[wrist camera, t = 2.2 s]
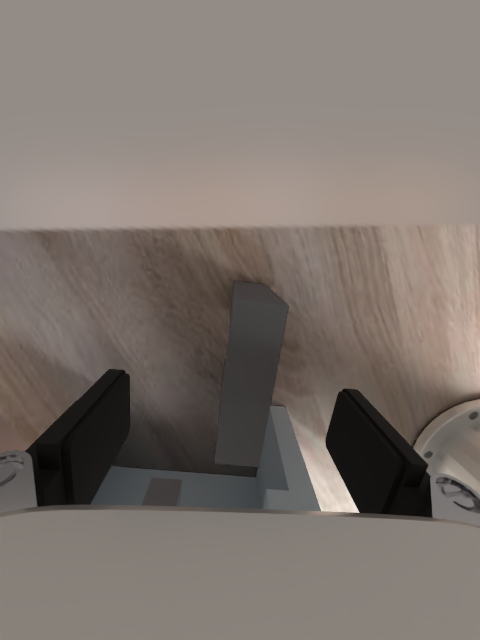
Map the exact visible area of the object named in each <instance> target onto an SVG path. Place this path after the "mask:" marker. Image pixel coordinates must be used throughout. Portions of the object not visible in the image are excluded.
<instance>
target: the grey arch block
mask: <svg viewBox="0 0 480 640" xmlns="http://www.w3.org/2000/svg"><path fill="white" fill-rule="evenodd" d="M288 307H289V306H288V305H287V304H286V303H285V302H284V301H283V300H282V299H281V298H280V297H278V296H277V295H276V294H275V293H274V292H273V291H272V290H271V289H270V288H269V287H268V286H267V285H265V284H257V283H249V282H241V281H234V286H233V295H232V303H231V312H230V327H229V336H228V345H227V353H226V359H225V363H224V372H223V380H222V389H221V400H220V410H219V420H218V431H217V441H216V451H215V462H214V464H225V465H238V466H250V467H259V465H260V460H261V454H262V449H263V443H264V438H265V432H266V427H267V421H268V416H269V411H270V405H271V400H272V394H273V389H274V383H275V378H276V372H277V367H278V362H279V356H280V351H281V345H282V340H283V334H284V329H285V323H286V318H287V313H288Z"/></svg>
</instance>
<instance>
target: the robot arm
mask: <svg viewBox="0 0 480 640" xmlns="http://www.w3.org/2000/svg"><path fill="white" fill-rule="evenodd" d="M129 429H130V376H129V374H126V372H125V371H124V370H116V369H109V370H108V371H107V372H106V373H105V374H104V375H103V376H102V377H101V378H100V379H99V380H98V381H97V382H96V383H95V384H94V385H93V386H92V387H91V388H90V389H89V390H88V391H87V392H86V393H85V394H84V395H83V396H82V397H81V398H80V399H79V400H77V401H76V402H75V403H74V404H73V405H72V406H71V407H69V408H68V409H67V410H66V411H65V412H64V413H63V414H62V415H61V416H60V417H59V418H58V419H57V420H56V421H55V422H54V423H53V424H52V425H51V426H50V427H49V428H48V429H47V430H46V431H45V432H44V433H43V434H42V435H41V436H40V437H39V438H38V439H37V440H36V441H35V442H34V443H33V444H32V445H31V446H30V447H29V448H28V449H27V450H26V451H18V450H15V451H6V452H3V453H0V640H480V399H477V400H473V401H469V402H465V403H462V404H460V405H457V406H454V407H452V408H451V409H449V410H447V411H445V412H444V413H442V414H441V415H439V416H438V417H437V418H435V419H434V420H433V421H432V422H431V423H430V424H429V425H428V426H427V427H426V428H425V429H424V430H423V432H422V433H421V434H420V436H419V437H418V439H417V441H416V443H415V445H414V448H412V447H411V446H410V445H409V444H408V443H407V441H406V440H405V439H404V438H403V437H402V436H401V435H400V434H399V433H398V432H397V431H396V430H395V429H394V428H393V427H392V426H391V425H390V424H389V422H388V421H387V420H386V419H385V418H384V417H383V416H382V415H381V414H380V413H379V412H378V411H377V410H376V409H375V408H374V407H373V406H372V404H371V403H370V402H369V401H368V400H367V399H366V398H365V397H364V396H363V395H362V394H361V393H360V392H359V391H358V390H355V389H343V390H342V392H341V391H340V392H339V393H338V396H337V400H336V403H335V407H334V410H333V414H332V418H331V421H330V425H329V429H328V432H327V436H326V447H327V449H328V451H329V453H330V455H331V457H332V459H333V461H334V463H335V465H336V467H337V469H338V471H339V473H340V475H341V477H342V479H343V481H344V483H345V485H346V487H347V489H348V491H349V493H350V495H351V497H352V499H353V501H354V503H355V505H356V506H357V508H358V510H359V512H360V513H347V512H324V511H299V510H272V509H244V508H216V507H182V506H148V505H90V504H91V502H92V500H93V499H94V497H95V495H96V493H97V491H98V489H99V488H100V486H101V484H102V482H103V480H104V478H105V476H106V475H107V473H108V471H109V469H110V467H111V465H112V464H113V462H114V460H115V458H116V456H117V454H118V452H119V451H120V449H121V447H122V445H123V443H124V441H125V439H126V438H127V436H128V433H129Z"/></svg>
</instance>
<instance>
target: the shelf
mask: <svg viewBox="0 0 480 640" xmlns="http://www.w3.org/2000/svg"><path fill="white" fill-rule="evenodd" d="M90 505H148V506H182V507H216V508H244V509H272V510H299V511H321V509H320V507H319V504H318V501H317V498H316V495H315V492H314V489H313V486H312V483H311V480H310V477H309V474H308V471H307V468H306V465H305V462H304V459H303V457H302V454H301V451H300V448H299V445H298V442H297V439H296V436H295V433H294V430H293V427H292V424H291V421H290V418H289V415H288V412H287V409H286V407H282V406H271V405H270V411H269V416H268V421H267V427H266V432H265V438H264V443H263V449H262V454H261V460H260V465H259V467H258V469H257V475H256V477H245V476H232V475H219V474H206V473H193V472H180V471H167V470H154V469H141V468H128V467H115V466H112V465H111V467H110V469H109V471H108V473H107V475H106V476H105V478H104V480H103V482H102V484H101V486H100V488H99V489H98V491H97V493H96V495H95V497H94V499H93V500H92V502H91V504H90Z"/></svg>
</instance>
